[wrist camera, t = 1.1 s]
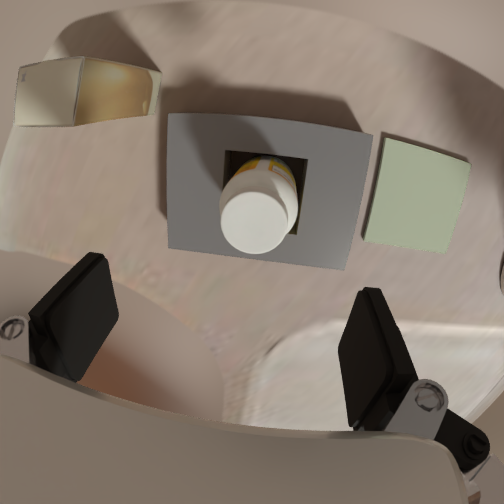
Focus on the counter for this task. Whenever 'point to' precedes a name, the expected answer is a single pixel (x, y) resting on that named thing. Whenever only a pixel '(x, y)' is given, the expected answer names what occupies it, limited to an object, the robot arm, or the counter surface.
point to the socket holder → (277, 143)
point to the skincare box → (83, 92)
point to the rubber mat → (416, 197)
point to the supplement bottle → (259, 205)
